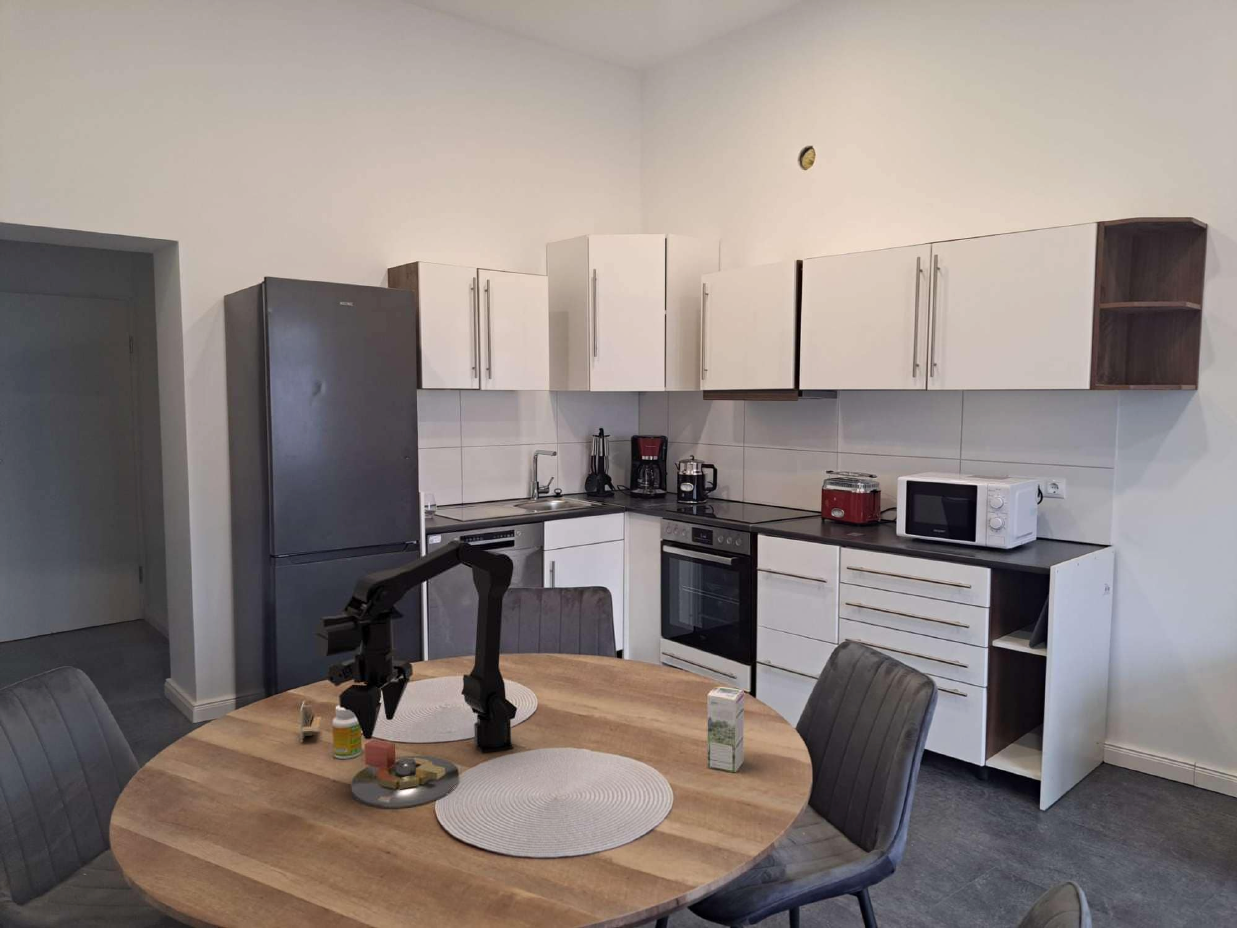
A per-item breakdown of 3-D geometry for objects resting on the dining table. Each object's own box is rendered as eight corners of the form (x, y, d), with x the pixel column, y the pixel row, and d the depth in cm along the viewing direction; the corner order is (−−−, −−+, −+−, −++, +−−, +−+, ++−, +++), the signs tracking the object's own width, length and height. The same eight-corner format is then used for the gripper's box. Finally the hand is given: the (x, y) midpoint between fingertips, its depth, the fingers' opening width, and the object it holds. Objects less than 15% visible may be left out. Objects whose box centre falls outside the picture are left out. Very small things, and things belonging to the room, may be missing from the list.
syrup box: (744, 761, 164) (744, 688, 163) (735, 773, 158) (735, 698, 157) (716, 756, 166) (716, 684, 165) (706, 768, 161) (706, 693, 160)
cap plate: (448, 755, 167) (448, 735, 167) (467, 796, 150) (467, 774, 149) (347, 771, 160) (347, 750, 160) (355, 816, 143) (355, 793, 143)
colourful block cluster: (434, 756, 164) (434, 730, 163) (446, 784, 151) (446, 756, 151) (364, 767, 159) (363, 740, 158) (371, 797, 147) (370, 768, 146)
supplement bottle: (353, 760, 165) (351, 711, 165) (327, 758, 166) (326, 710, 166) (366, 749, 171) (365, 702, 170) (342, 747, 172) (340, 700, 171)
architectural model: (321, 733, 180) (320, 699, 180) (318, 746, 174) (317, 710, 173) (304, 734, 180) (303, 700, 179) (300, 747, 173) (299, 712, 172)
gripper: (357, 630, 164) (360, 708, 166) (309, 659, 146) (312, 747, 147) (412, 631, 163) (414, 711, 164) (370, 661, 144) (373, 750, 146)
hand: (379, 728), depth 155 cm, fingers open, 9 cm apart
